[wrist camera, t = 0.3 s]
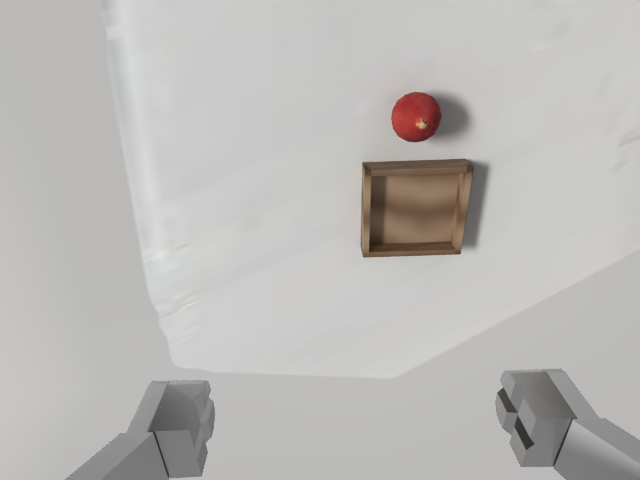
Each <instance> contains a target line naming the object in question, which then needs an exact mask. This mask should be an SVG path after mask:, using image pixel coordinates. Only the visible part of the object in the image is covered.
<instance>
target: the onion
mask: <svg viewBox="0 0 640 480" xmlns="http://www.w3.org/2000/svg"><path fill="white" fill-rule="evenodd" d="M441 116H442V115H441V111H440V106H439V104H438V103H437V102H436V101H435V99H434V98H433V97H431V96H429V95H427V94H425V93H420V92H413V93H410V94H407V95H404V96H403V97H402V98H401V99H399V100H398V101H397V103H396V105H395V106H394V108H393V111H392V117H391V119H392V124H393V129H394V131H395V132H396V133H397V135H398V136H399V137H400V138H402V139H404V140H406V141H408V142H420V141H424V140H426V139H428V138H429V137H431V136H432V135H434V133H435V132H436V130H437V129H438V127H439V124H440V120H441Z"/></svg>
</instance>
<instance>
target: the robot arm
mask: <svg viewBox="0 0 640 480" xmlns="http://www.w3.org/2000/svg"><path fill="white" fill-rule="evenodd" d="M500 381H501V383H502V385H503V388H502V389H501V390H500V391H499V392H498V393H497V397H496V411H497V415H498V419H499V421H500V423H501V425H502V428H503V429H504V430H506V431H507V432H508V433H510V434H511V435H512V437H511V440H510V445H511V447H512V449H513V451H514V453H515V455H516V457H517V460H518V462H519V464H520V466H521V467H554V469H555V470H556V471H557V472H558V473H559V474H560V475H562V476H563V477H564V478H565V479H566V480H640V440H639V439H637V438H635V437H634V436H632V435H631V434H629V433H628V432H626V431H625V430H623V429H621V428H620V427H618V426H617V425H615V424H613V423H612V422H610V421H609V420H607V419H605V418H604V419H601V418H599V417H598V416H597V414H596V413H595V412H594V410H593V409H592V407H591V406H590V405H589V403H588V402H587V401H586V399H585V398H584V397H583V395H582V394H581V393H580V391H579V390H578V388H577V387H576V386H575V385H574V383H573V382H572V380H571V379H570V378H569V377H568V375H567V374H566V372H565V371H563V370H562V369H542V370H539V369H535V370H512V371H505V372H503V374H502V376H501V380H500ZM210 390H211V389H210V385H209V382H208V381H206V380H192V381H189V380H182V381H152V382H151V383H150V384H149V385H148V387H147V389H146V391H145V393H144V396H143V398H142V400H141V402H140V404H139V406H138V409H137V411H136V413H135V415H134V417H133V419H132V421H131V424H130V426H129V428H128V430H127V432H126V433H120V434H119V435H118V436H117V437H116V438H114V439H113V440H112V441H111V442H109V443H108V444H107V445H106V446H105V447H103V448H102V449H101V450H100V451H99V452H98V453H96V454H95V455H94V456H93V457H92V458H90V459H89V460H88V461H87V462H85V463H84V464H83V465H82V466H81V467H79V468H78V469H77V470H76V471H75V472H73V473H72V474H71V475H70V476H69V477H67V478H66V479H65V480H169V478H183V477H199V476H202V473H203V469H204V465H205V461H206V457H207V453H208V452H207V447H206V442H207V441H208V440H209V439H210V438H211V437H212V433H213V428H214V420H215V409H214V403H213V401H212V400H211V399H210V398H209V393H210Z"/></svg>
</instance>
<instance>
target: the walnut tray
mask: <svg viewBox="0 0 640 480" xmlns="http://www.w3.org/2000/svg"><path fill="white" fill-rule="evenodd" d="M473 168H474V167H473V166H472V165H471V164H470V163H469V162H468V161H466V160H465V159H450V160H420V161H390V162H362V209H361V249H362V254H363V257H391V256H422V255H452V254H461V247H462V241H463V234H464V227H465V221H466V214H467V208H468V201H469V194H470V188H471V181H472V175H473Z"/></svg>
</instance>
